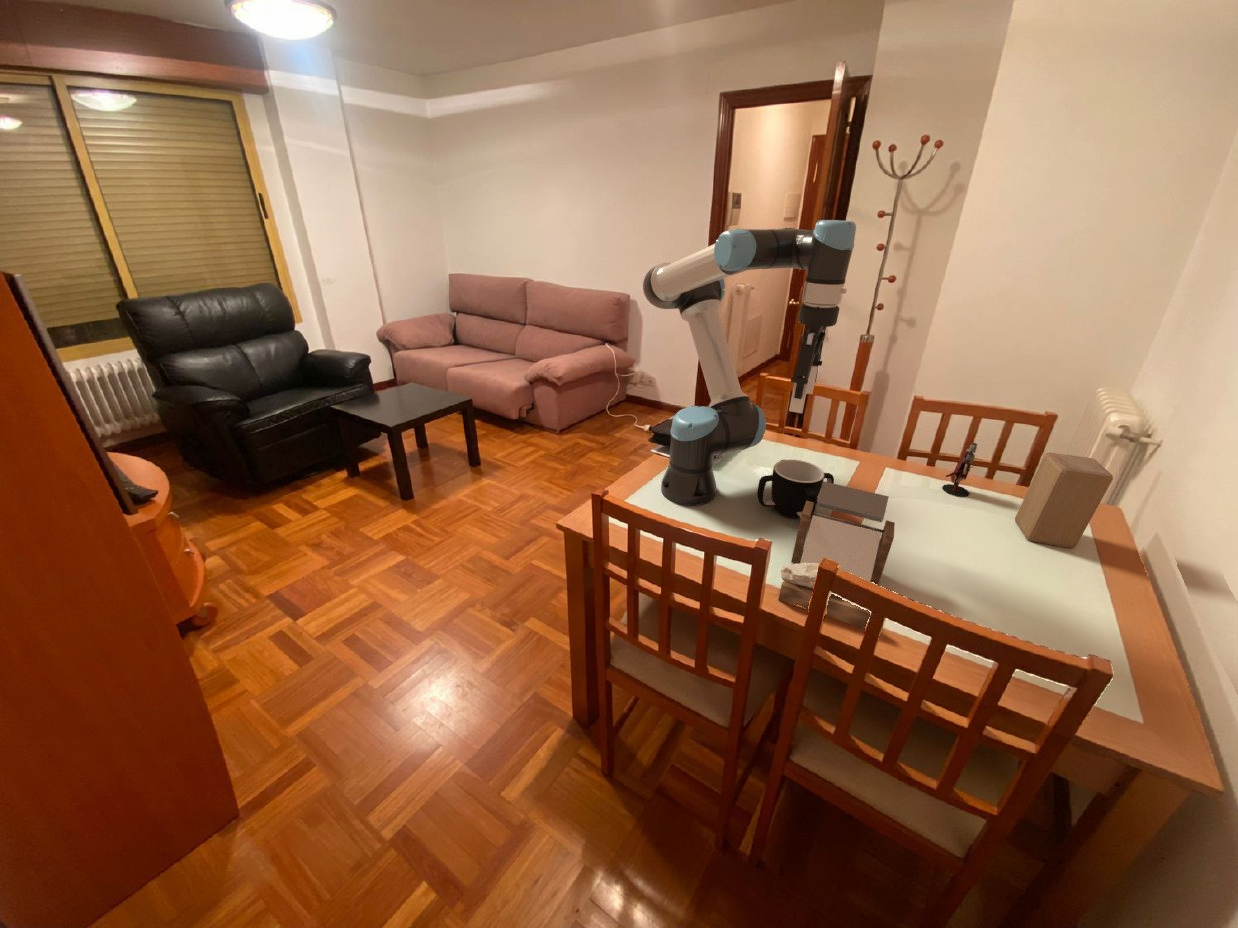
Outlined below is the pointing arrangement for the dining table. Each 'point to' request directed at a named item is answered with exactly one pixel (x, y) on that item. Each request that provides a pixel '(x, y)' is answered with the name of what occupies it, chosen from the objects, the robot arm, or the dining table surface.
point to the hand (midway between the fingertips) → (801, 402)
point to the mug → (793, 487)
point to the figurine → (961, 473)
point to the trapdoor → (846, 530)
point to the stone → (802, 575)
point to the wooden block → (1062, 499)
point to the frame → (835, 606)
